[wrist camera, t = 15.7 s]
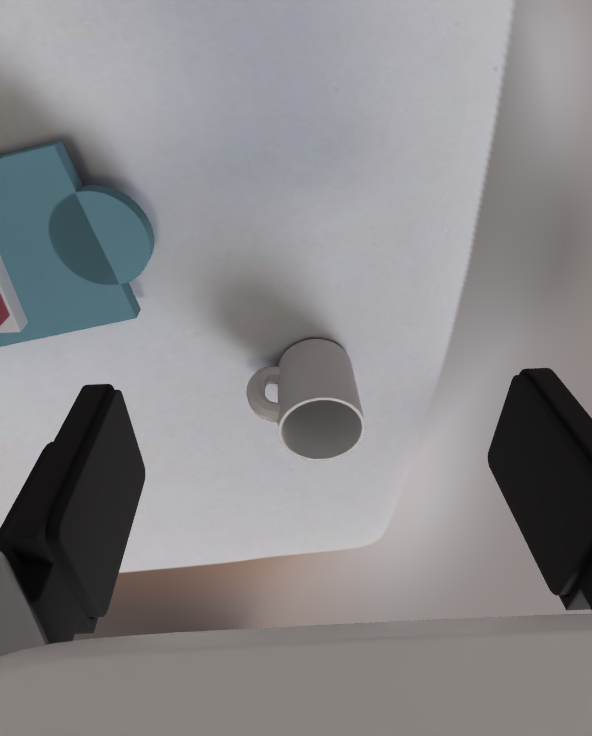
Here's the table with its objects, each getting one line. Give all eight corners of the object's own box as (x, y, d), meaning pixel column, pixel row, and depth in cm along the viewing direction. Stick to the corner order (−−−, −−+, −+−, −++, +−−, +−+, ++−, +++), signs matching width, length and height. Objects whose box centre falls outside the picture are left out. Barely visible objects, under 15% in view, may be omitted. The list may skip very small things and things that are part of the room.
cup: (342, 398, 48) (353, 464, 41) (245, 388, 47) (240, 454, 40) (358, 340, 44) (375, 402, 37) (253, 328, 43) (248, 389, 35)
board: (-62, 339, 42) (-90, 365, 39) (-177, 196, 34) (-224, 213, 31) (186, 286, 40) (178, 309, 37) (121, 120, 32) (104, 131, 29)
